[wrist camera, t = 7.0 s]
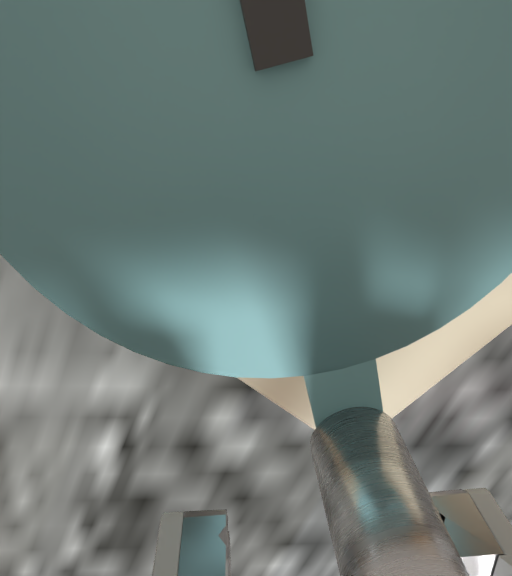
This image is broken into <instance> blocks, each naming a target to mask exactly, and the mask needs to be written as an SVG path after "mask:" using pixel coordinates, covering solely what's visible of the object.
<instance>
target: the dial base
mask: <svg viewBox="0 0 512 576" xmlns="http://www.w3.org/2000/svg"><path fill="white" fill-rule="evenodd" d="M511 324H512V273H511V274H510V275H509V276H508V277H507V278H506V279H505V280H504V281H503V282H502V283H501V284H499V285H498V286H497V287H496V288H495V289H493V290H492V291H491V292H490V293H488V294H487V295H486V296H485V297H484V298H482V299H481V300H480V301H479V302H477V303H476V304H475V305H474V306H472V307H471V308H470V309H468V310H467V311H465V312H464V313H462V314H461V315H459V316H458V317H456V318H455V319H453V320H452V321H450V322H449V323H447V324H446V325H444V326H443V327H441V328H440V329H438V330H436V331H434V332H432V333H431V334H429V335H427V336H425V337H423V338H421V339H419V340H417V341H416V342H414V343H412V344H410V345H408V346H406V347H403V348H401V349H399V350H396V351H394V352H391V353H389V354H386V355H384V356H381V357H379V358H376V363H377V370H378V378H379V385H380V392H381V399H382V406H383V412H384V413H386V414H387V415H389V416H390V417H391V418H393V417H394V416H396V415H397V414H398V413H399V412H401V411H402V410H403V409H405V408H406V407H407V406H408V405H410V404H411V403H412V402H413V401H415V400H416V399H417V398H419V397H420V396H421V395H422V394H424V393H425V392H426V391H427V390H429V389H430V388H431V387H433V386H434V385H435V384H436V383H438V382H439V381H440V380H441V379H443V378H444V377H445V376H447V375H448V374H449V373H450V372H452V371H453V370H454V369H455V368H457V367H458V366H459V365H461V364H462V363H463V362H464V361H466V360H467V359H468V358H469V357H471V356H472V355H473V354H475V353H476V352H477V351H478V350H480V349H481V348H482V347H483V346H485V345H486V344H487V343H489V342H490V341H491V340H492V339H494V338H495V337H496V336H497V335H499V334H500V333H501V332H503V331H504V330H505V329H506V328H508V327H509V326H510V325H511ZM237 378H238V379H240V380H241V381H243V382H244V383H246V384H247V385H249V386H250V387H252V388H253V389H255V390H256V391H258V392H259V393H261V394H262V395H264V396H265V397H267V398H268V399H270V400H271V401H273V402H274V403H276V404H277V405H279V406H280V407H282V408H283V409H285V410H286V411H288V412H289V413H290V414H292V415H293V416H295V417H296V418H298V419H299V420H301V421H302V422H304V423H305V424H307V425H308V426H310V427H311V428H313V429H314V430H315V429H316V426H315V422H314V418H313V413H312V409H311V405H310V401H309V397H308V393H307V388H306V384H305V380H304V376H296V377H283V378H241V377H237Z"/></svg>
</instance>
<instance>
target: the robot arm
mask: <svg viewBox="0 0 512 576" xmlns="http://www.w3.org/2000/svg"><path fill="white" fill-rule="evenodd" d="M429 494H430V496H431V498H432V500H433V502H434V504H435V506H436V508H437V510H438V512H439V514H440V516H441V518H442V520H443V522H444V524H445V526H446V529H447V531H448V533H449V535H450V537H451V539H452V541H453V543H454V545H455V547H456V549H457V551H458V553H459V555H460V557H461V559H462V561H463V563H464V565H465V567H466V569H467V571H468V573H469V575H470V576H512V526H511V524H510V523H509V521H508V519H507V518H506V516H505V515H504V513H503V512H502V510H501V509H500V507H499V506H498V504H497V503H496V501H495V499H494V498H493V496H492V495H491V493H490V492H489V491H488V490H487V489H485V488H477V489H467V490H462V489H459V490H449V491H438V492H429ZM152 576H231V557H230V537H229V531H228V517H227V509H225V510H205V511H186V512H171V513H163V515H162V518H161V521H160V527H159V534H158V540H157V547H156V553H155V560H154V566H153V573H152Z"/></svg>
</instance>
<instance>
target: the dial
mask: <svg viewBox="0 0 512 576" xmlns="http://www.w3.org/2000/svg"><path fill="white" fill-rule="evenodd" d="M0 254H1V255H2V256H3V257H4V258H5V259H6V260H7V261H8V262H9V263H10V264H11V265H12V266H13V267H14V268H15V269H16V270H17V271H18V272H19V273H20V274H21V275H22V276H23V277H24V278H25V279H26V280H27V281H28V282H29V283H30V284H31V285H32V286H33V287H34V288H35V289H36V290H37V291H39V292H40V293H41V294H42V295H44V296H45V297H46V298H47V299H49V300H50V301H51V302H52V303H54V304H55V305H56V306H57V307H59V308H60V309H61V310H62V311H64V312H65V313H66V314H68V315H69V316H71V317H72V318H74V319H75V320H77V321H79V322H80V323H82V324H83V325H85V326H87V327H88V328H90V329H91V330H93V331H94V332H96V333H98V334H99V335H101V336H103V337H105V338H107V339H109V340H111V341H113V342H115V343H117V344H119V345H121V346H123V347H125V348H127V349H129V350H131V351H133V352H136V353H139V354H142V355H144V356H147V357H150V358H153V359H155V360H158V361H161V362H164V363H166V364H169V365H173V366H178V367H182V368H186V369H190V370H194V371H198V372H202V373H209V374H216V375H223V376H231V377H241V378H283V377H296V376H304V380H305V384H306V388H307V393H308V397H309V401H310V405H311V409H312V413H313V418H314V422H315V426H316V429H315V431H314V432H313V434H312V437H311V441H310V449H311V454H312V458H313V462H314V466H315V470H316V475H317V479H318V483H319V487H320V492H321V496H322V500H323V504H324V509H325V513H326V517H327V521H328V526H329V530H330V534H331V538H332V542H333V547H334V551H335V555H336V559H337V564H338V568H339V572H340V576H470V575H469V573H468V571H467V569H466V567H465V565H464V563H463V561H462V559H461V557H460V555H459V553H458V551H457V549H456V547H455V545H454V543H453V541H452V539H451V537H450V535H449V533H448V531H447V529H446V526H445V524H444V522H443V520H442V518H441V516H440V514H439V512H438V510H437V508H436V506H435V504H434V502H433V500H432V498H431V496H430V494H429V492H428V490H427V488H426V486H425V484H424V482H423V480H422V478H421V476H420V473H419V471H418V469H417V467H416V465H415V463H414V461H413V459H412V457H411V455H410V453H409V451H408V449H407V447H406V445H405V443H404V441H403V439H402V437H401V435H400V433H399V431H398V429H397V427H396V425H395V423H394V421H393V420H392V418H391V417H390V416H389V415H387V414H386V413H384V412H383V406H382V399H381V392H380V385H379V378H378V370H377V363H376V358H379V357H381V356H384V355H386V354H389V353H391V352H394V351H396V350H399V349H401V348H403V347H406V346H408V345H410V344H412V343H414V342H416V341H417V340H419V339H421V338H423V337H425V336H427V335H429V334H431V333H432V332H434V331H436V330H438V329H440V328H441V327H443V326H444V325H446V324H447V323H449V322H450V321H452V320H453V319H455V318H456V317H458V316H459V315H461V314H462V313H464V312H465V311H467V310H468V309H470V308H471V307H472V306H474V305H475V304H476V303H477V302H479V301H480V300H481V299H482V298H484V297H485V296H486V295H487V294H488V293H490V292H491V291H492V290H493V289H495V288H496V287H497V286H498V285H499V284H501V283H502V282H503V281H504V280H505V279H506V278H507V277H508V276H509V275H510V274H511V273H512V0H0Z"/></svg>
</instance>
